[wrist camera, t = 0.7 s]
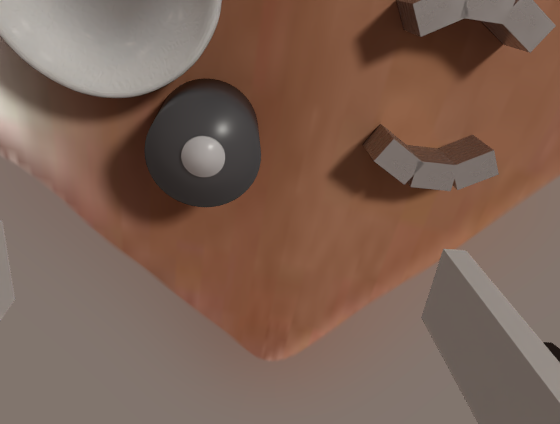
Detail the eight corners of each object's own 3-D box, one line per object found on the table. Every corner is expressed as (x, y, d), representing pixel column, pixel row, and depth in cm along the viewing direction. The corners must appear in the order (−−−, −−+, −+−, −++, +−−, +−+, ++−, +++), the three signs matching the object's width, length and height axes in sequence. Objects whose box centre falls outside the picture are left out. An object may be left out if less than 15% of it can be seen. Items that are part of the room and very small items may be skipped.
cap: (160, 72, 28) (144, 92, 24) (263, 85, 29) (268, 107, 25) (157, 168, 31) (143, 203, 27) (251, 178, 32) (253, 213, 28)
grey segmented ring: (402, -29, 27) (420, -28, 24) (535, -7, 28) (567, -4, 25) (357, 164, 32) (368, 182, 30) (470, 176, 33) (490, 195, 31)
